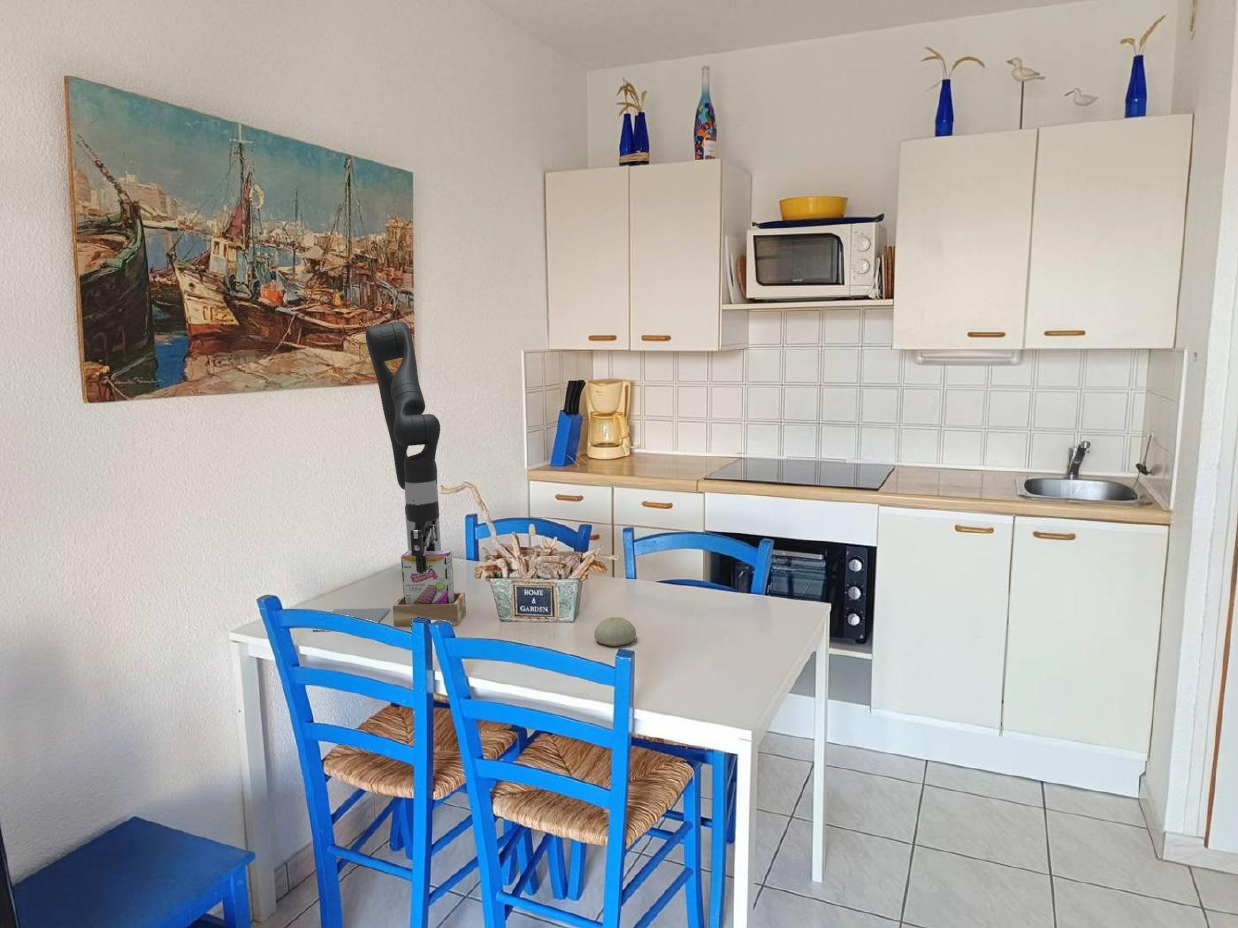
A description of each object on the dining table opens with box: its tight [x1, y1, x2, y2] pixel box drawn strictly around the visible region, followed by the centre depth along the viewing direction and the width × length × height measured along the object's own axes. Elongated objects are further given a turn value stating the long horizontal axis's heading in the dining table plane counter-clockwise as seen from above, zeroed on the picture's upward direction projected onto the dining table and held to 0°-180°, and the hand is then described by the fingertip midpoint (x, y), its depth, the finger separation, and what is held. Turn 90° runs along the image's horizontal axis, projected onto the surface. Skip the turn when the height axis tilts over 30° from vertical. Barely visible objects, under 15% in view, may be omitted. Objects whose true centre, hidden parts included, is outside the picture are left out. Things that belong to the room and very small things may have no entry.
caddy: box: [392, 592, 467, 627], centre depth 205 cm, size 9×15×5 cm, turn 88°
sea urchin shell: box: [593, 616, 637, 647], centre depth 187 cm, size 9×8×8 cm
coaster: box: [312, 607, 391, 632], centre depth 206 cm, size 14×14×1 cm
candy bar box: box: [400, 550, 455, 605], centre depth 204 cm, size 11×5×16 cm, turn 84°
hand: (426, 566), depth 203 cm, fingers open, 8 cm apart
